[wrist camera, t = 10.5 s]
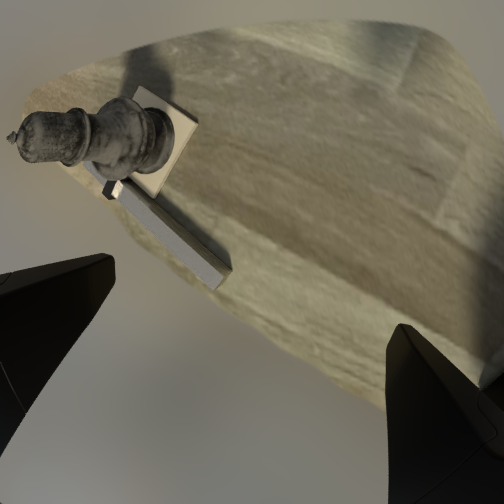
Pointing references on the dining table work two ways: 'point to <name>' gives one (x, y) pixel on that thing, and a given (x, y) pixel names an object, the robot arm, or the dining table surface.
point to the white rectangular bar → (165, 229)
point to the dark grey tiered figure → (100, 138)
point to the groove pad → (182, 135)
